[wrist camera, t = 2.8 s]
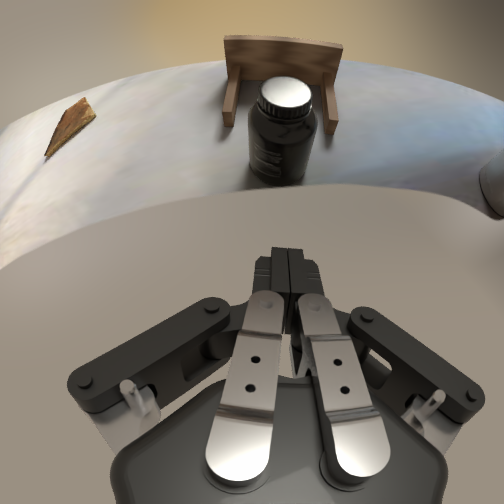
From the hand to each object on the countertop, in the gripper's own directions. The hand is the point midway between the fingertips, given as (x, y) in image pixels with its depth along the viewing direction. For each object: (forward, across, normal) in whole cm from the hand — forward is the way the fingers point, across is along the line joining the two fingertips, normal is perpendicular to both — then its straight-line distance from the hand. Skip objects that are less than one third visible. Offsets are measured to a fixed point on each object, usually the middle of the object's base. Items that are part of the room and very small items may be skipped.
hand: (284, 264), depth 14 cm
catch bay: (+30, 0, -8) cm, 31 cm away
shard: (+28, +33, -6) cm, 44 cm away
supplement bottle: (+22, 0, 0) cm, 22 cm away
